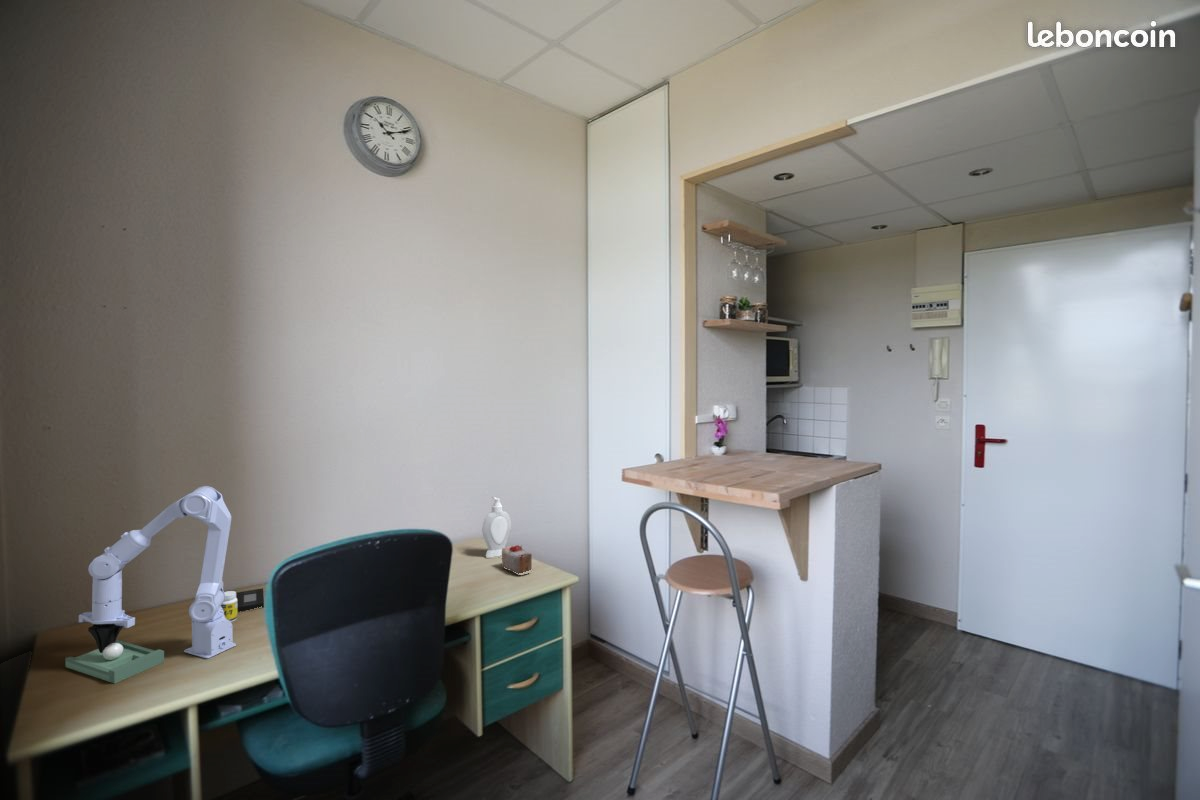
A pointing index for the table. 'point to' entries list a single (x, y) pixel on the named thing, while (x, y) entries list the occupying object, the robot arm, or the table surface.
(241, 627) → the table surface
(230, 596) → the supplement bottle
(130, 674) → the green tray
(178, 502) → the robot arm
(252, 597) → the vhs tape
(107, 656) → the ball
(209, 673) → the table surface
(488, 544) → the soap bottle
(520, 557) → the food item
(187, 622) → the table surface
